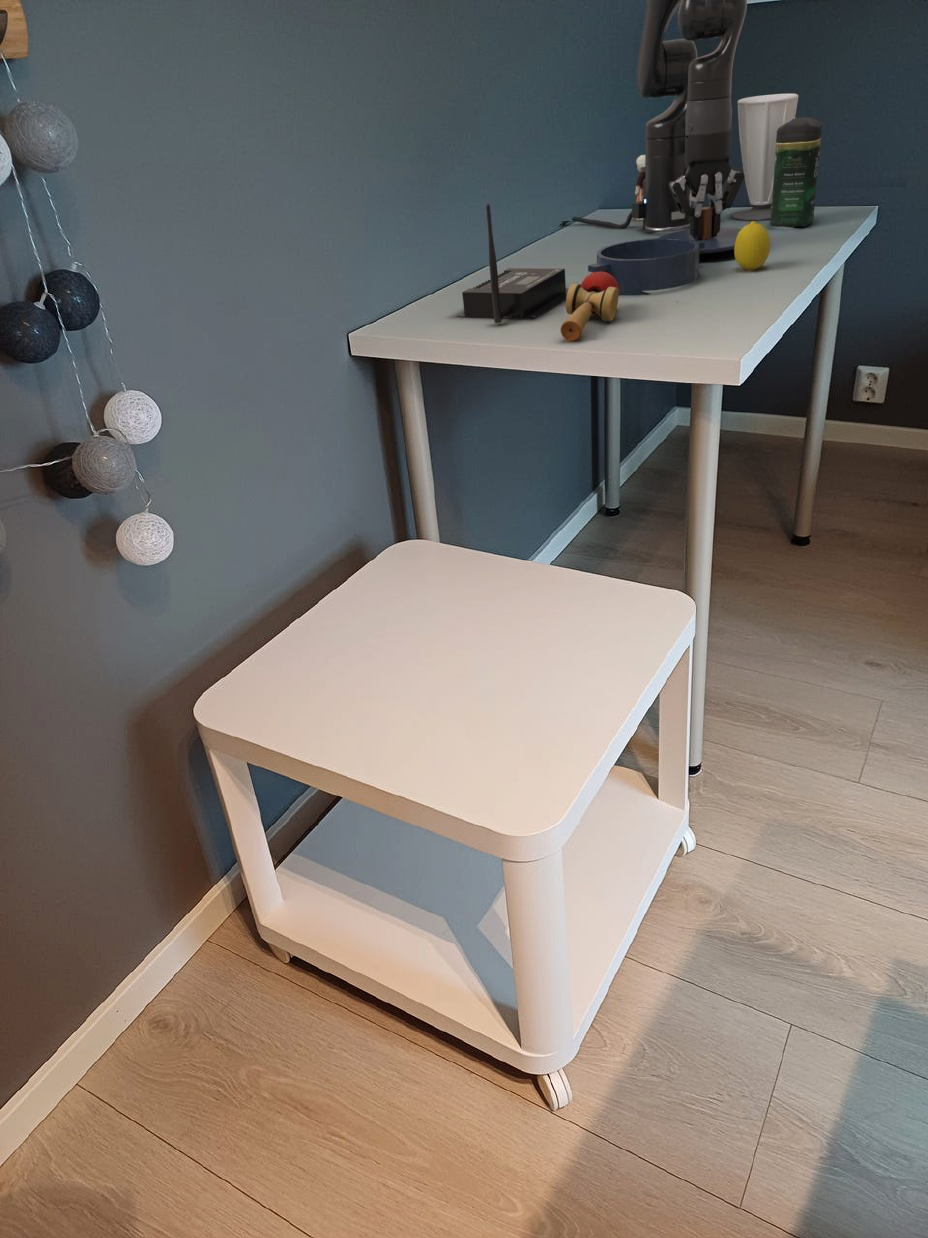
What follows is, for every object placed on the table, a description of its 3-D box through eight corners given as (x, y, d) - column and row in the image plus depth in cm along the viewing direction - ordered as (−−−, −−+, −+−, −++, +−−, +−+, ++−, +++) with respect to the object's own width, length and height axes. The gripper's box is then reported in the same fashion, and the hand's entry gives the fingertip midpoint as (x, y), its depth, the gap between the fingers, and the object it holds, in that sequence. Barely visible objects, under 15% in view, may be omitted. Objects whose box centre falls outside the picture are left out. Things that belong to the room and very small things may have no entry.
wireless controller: (501, 291, 162) (492, 183, 153) (575, 292, 156) (570, 179, 147) (442, 323, 148) (428, 206, 139) (522, 326, 141) (512, 203, 132)
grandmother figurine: (640, 215, 210) (640, 152, 203) (657, 214, 208) (657, 151, 202) (629, 222, 204) (629, 158, 198) (647, 221, 203) (646, 156, 196)
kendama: (604, 350, 131) (633, 298, 144) (593, 306, 128) (624, 257, 140) (552, 359, 135) (585, 307, 147) (540, 317, 131) (575, 268, 144)
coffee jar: (809, 228, 179) (819, 119, 169) (766, 229, 182) (773, 122, 173) (816, 218, 186) (826, 113, 177) (775, 220, 190) (782, 116, 180)
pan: (565, 287, 159) (563, 255, 157) (669, 263, 167) (669, 231, 164) (622, 303, 147) (622, 268, 144) (732, 276, 154) (733, 241, 151)
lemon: (728, 271, 157) (730, 220, 153) (761, 267, 157) (764, 216, 153) (739, 278, 152) (742, 225, 148) (773, 274, 152) (776, 221, 148)
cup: (759, 222, 189) (765, 100, 178) (720, 217, 198) (724, 100, 187) (802, 212, 193) (811, 92, 182) (763, 207, 202) (769, 93, 191)
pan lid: (635, 247, 172) (635, 211, 168) (711, 229, 177) (712, 194, 174) (697, 261, 158) (698, 222, 155) (777, 241, 164) (779, 204, 161)
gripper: (736, 121, 162) (731, 228, 171) (660, 132, 160) (659, 239, 169) (757, 124, 156) (751, 235, 165) (678, 135, 154) (676, 247, 163)
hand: (704, 236), depth 167 cm, fingers closed on pan lid, 2 cm apart
